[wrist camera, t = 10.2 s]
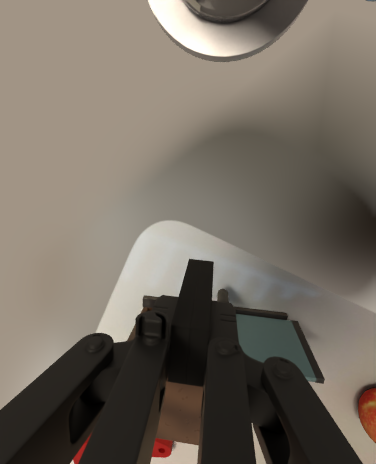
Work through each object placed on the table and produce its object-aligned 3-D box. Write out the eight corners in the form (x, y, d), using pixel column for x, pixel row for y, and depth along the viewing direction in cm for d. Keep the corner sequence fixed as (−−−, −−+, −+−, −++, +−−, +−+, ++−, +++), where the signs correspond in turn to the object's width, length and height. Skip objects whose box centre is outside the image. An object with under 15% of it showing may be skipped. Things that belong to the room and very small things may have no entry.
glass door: (207, 280, 42) (203, 324, 31) (304, 291, 41) (335, 341, 30) (204, 313, 44) (199, 365, 33) (296, 324, 42) (323, 383, 32)
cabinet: (144, 295, 45) (114, 352, 32) (286, 313, 43) (315, 381, 30) (142, 358, 49) (115, 431, 36) (273, 377, 47) (294, 461, 34)
